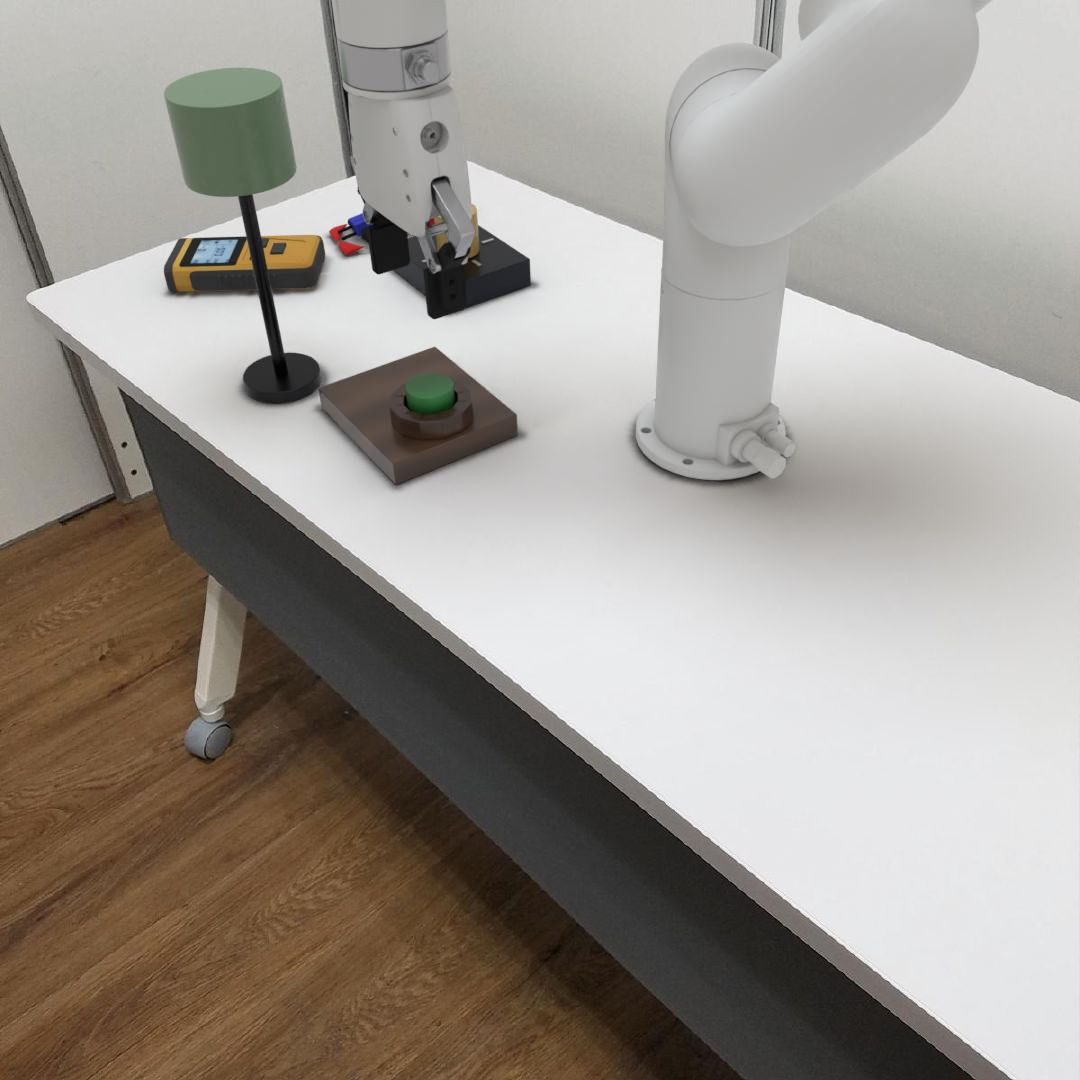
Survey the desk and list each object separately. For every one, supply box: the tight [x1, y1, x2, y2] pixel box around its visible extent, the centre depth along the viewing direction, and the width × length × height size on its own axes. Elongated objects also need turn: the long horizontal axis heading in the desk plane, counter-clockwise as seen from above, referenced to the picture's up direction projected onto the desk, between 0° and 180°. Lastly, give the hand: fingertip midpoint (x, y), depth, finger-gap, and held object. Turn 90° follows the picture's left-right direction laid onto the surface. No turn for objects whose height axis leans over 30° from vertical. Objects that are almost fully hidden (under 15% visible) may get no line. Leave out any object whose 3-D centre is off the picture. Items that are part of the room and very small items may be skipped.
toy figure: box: [328, 212, 435, 256], centre depth 128 cm, size 8×5×15 cm
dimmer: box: [434, 203, 479, 258], centre depth 117 cm, size 4×4×5 cm
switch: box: [405, 373, 455, 414], centre depth 95 cm, size 4×4×2 cm
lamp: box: [163, 67, 322, 405], centre depth 97 cm, size 9×9×27 cm
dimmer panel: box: [393, 224, 532, 308], centre depth 119 cm, size 12×10×3 cm
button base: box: [317, 346, 519, 485], centre depth 99 cm, size 14×12×4 cm
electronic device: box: [163, 234, 326, 293], centre depth 121 cm, size 8×16×3 cm, turn 90°
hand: (418, 289), depth 89 cm, fingers open, 8 cm apart
